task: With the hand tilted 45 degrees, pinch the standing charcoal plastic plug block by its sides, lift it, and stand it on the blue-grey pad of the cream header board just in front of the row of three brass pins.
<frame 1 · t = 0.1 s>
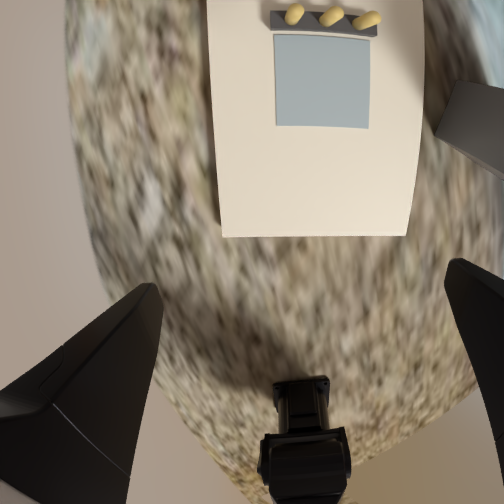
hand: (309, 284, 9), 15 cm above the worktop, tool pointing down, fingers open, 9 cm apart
header board: (320, 109, 20), on the worktop
plug block: (468, 123, 19), on the worktop
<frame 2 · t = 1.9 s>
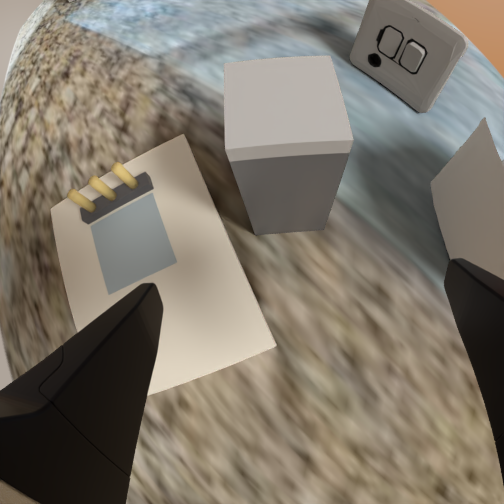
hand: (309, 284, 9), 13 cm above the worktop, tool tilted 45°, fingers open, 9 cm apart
header board: (144, 269, 24), on the worktop
toilet tissue: (488, 247, 22), on the worktop
electrical switch: (396, 77, 26), on the worktop
plug block: (286, 200, 24), on the worktop
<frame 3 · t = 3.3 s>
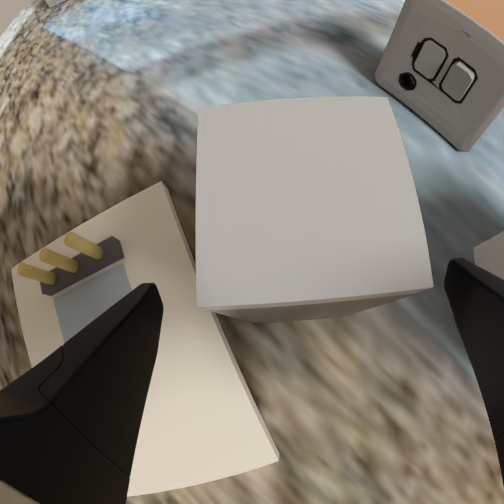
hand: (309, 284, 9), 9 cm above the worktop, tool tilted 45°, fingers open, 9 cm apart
header board: (118, 357, 18), on the worktop
electrical switch: (430, 101, 21), on the worktop
plug block: (295, 277, 18), on the worktop
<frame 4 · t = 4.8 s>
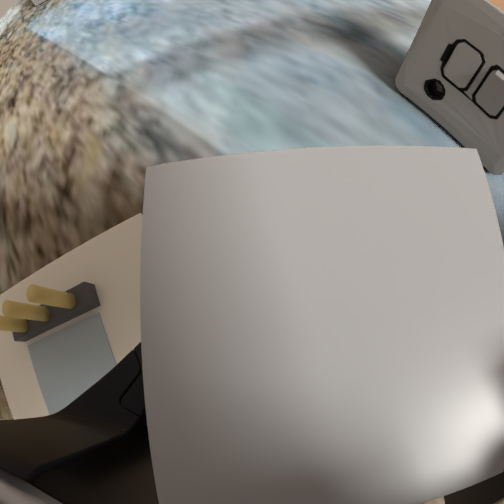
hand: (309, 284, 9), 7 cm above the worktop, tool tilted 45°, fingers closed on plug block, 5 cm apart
header board: (101, 412, 15), on the worktop
electrical switch: (456, 112, 17), on the worktop
plug block: (301, 331, 15), on the worktop, touching gripper
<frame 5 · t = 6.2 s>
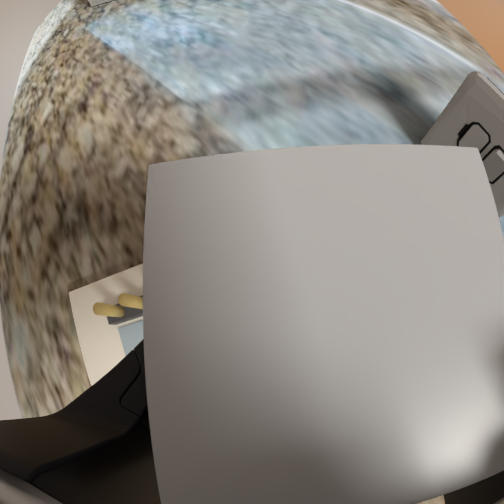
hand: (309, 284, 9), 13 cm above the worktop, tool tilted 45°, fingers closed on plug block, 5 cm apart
header board: (179, 382, 22), on the worktop
electrical switch: (464, 170, 23), on the worktop
plug block: (302, 331, 15), point 7 cm above the worktop, touching gripper
when the fingers open (9 cm above the worktop, at t = 7.9 s): plug block drops 1 cm, resting on header board.
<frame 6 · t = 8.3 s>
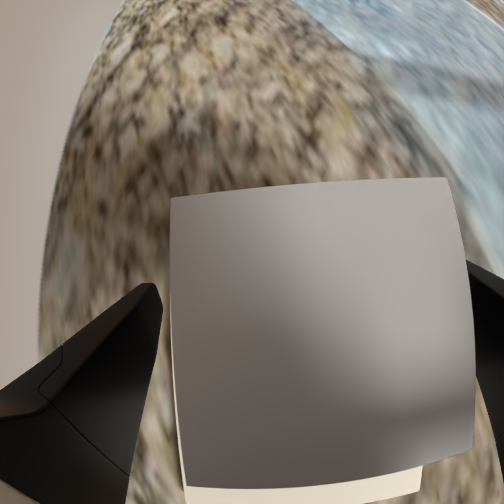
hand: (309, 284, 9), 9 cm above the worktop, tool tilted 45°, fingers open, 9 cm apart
header board: (301, 366, 17), on the worktop
plug block: (300, 331, 16), point 1 cm above the worktop, touching header board
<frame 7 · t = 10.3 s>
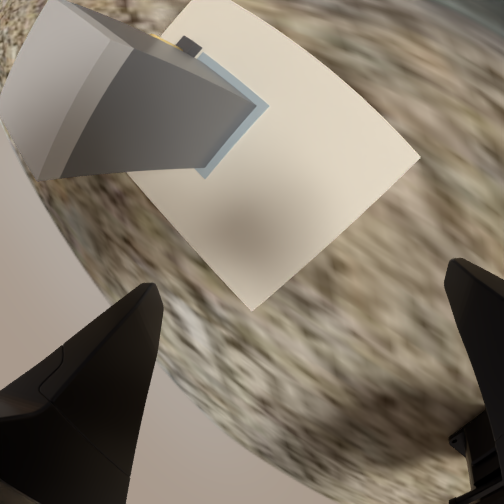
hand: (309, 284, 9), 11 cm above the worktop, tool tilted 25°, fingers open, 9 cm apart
header board: (232, 134, 20), on the worktop
plug block: (202, 112, 18), point 1 cm above the worktop, touching header board
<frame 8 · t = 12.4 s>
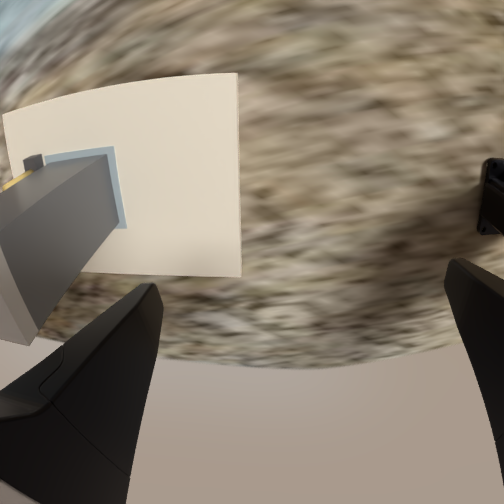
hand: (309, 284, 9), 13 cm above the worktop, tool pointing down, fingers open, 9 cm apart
header board: (114, 183, 21), on the worktop
plug block: (83, 191, 20), point 1 cm above the worktop, touching header board
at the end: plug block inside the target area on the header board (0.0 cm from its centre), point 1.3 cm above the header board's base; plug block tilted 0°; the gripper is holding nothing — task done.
